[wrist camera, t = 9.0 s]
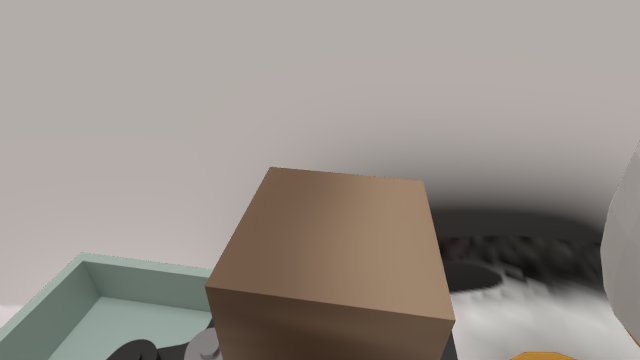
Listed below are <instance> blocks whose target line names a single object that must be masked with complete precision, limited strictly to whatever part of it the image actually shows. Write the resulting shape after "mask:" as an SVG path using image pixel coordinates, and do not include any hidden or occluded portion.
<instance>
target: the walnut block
mask: <svg viewBox="0 0 640 360" xmlns="http://www.w3.org/2000/svg"><path fill="white" fill-rule="evenodd" d="M205 290H206V294H207V298H208V302H209V306H210V310H211V314H212V318H213V322H214V326H215V330H216V334H217V338H218V342H219V346H220V350H221V354H222V358H223V360H440V359H441V356H442V354H443V351H444V348H445V346H446V343H447V341H448V338H449V336H450V333H451V331H452V328H453V326H454V323H455V321H456V320H455V316H454V311H453V307H452V303H451V299H450V294H449V290H448V286H447V281H446V277H445V273H444V268H443V264H442V260H441V256H440V251H439V247H438V243H437V238H436V234H435V230H434V225H433V221H432V217H431V213H430V208H429V204H428V200H427V195H426V191H425V187H424V182H423V181H418V180H407V179H396V178H385V177H375V176H363V175H353V174H342V173H331V172H320V171H309V170H298V169H287V168H277V167H270V168H269V170H268V172H267V174H266V175H265V177H264V179H263V181H262V183H261V185H260V186H259V188H258V190H257V192H256V194H255V196H254V198H253V199H252V201H251V203H250V205H249V206H248V208H247V210H246V212H245V214H244V215H243V217H242V219H241V221H240V223H239V224H238V226H237V228H236V230H235V232H234V234H233V235H232V237H231V239H230V241H229V243H228V244H227V247H226V248H225V250H224V252H223V253H222V255H221V257H220V259H219V261H218V263H217V264H216V266H215V268H214V270H213V272H212V273H211V275H210V277H209V279H208V281H207V283H206V284H205Z"/></svg>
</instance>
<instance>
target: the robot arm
mask: <svg viewBox="0 0 640 360" xmlns="http://www.w3.org/2000/svg"><path fill="white" fill-rule="evenodd" d="M106 360H223V358H222V354H221V350H220V346H219V342H218V338H217V334H216V330H215V326H214V322H213V318H212V319H211V321H210V323H209V325H208V326H207V328H206V329H205V330H203V331H201V332H200V333H198V334H197V335H196V336H195V337H193V339H192V340H191V341H190V342H187V343H185V344H181V345H175V346H170V347H164V348H158V349H157V348H156V346H155V345H154V343H153V342H151V341H149V340H146V339H138V340H133V341H130V342H128V343H126V344H124V345H122V346H121V347H119V348H118V349H117V350H116V351H115V352H113V353H112V354H111V355H110V356H109V357H108V358H107V359H106ZM440 360H458V358H457V353H456V349H455V344H454V339H453V335H452V331H451V333H450V336H449V338H448V341H447V343H446V346H445V348H444V351H443V354H442V356H441V359H440Z"/></svg>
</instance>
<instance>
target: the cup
mask: <svg viewBox="0 0 640 360" xmlns="http://www.w3.org/2000/svg"><path fill="white" fill-rule="evenodd" d="M600 251H601V261H602V271H603V281H604V289H605V291H606V294H607V296H608V299H609V302H610V304H611V307H612V310H613V312H614V315H615V316H616V317H617V318H618V320H619V321H620V322H621V323H622V325H623V326H624V327H625V329H626V330H627V332H628V333H629V334H630V336H631V337H632V338H633V340H634V341H635V342H636V344H637V345H638V346H639V347H640V142H639V144H638V146H637V148H636V150H635V152H634V154H633V156H632V158H631V160H630V162H629V164H628V167H627V169H626V171H625V173H624V175H623V177H622V179H621V181H620V183H619V185H618V188H617V190H616V192H615V194H614V196H613V198H612V201H611V203H610V206H609V211H608V216H607V220H606V225H605V229H604V235H603V240H602V244H601V249H600ZM510 360H576V359H573V358H571V357H568V356H565V355H562V354H559V353H553V352H525V353H522V354H520V355H518V356H516V357H514V358H512V359H510Z"/></svg>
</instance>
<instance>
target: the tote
mask: <svg viewBox="0 0 640 360" xmlns="http://www.w3.org/2000/svg"><path fill="white" fill-rule="evenodd" d="M212 272H213V269H205V268H198V267H190V266H182V265H175V264H167V263H159V262H151V261H144V260H137V259H129V258H121V257H114V256H106V255H98V254H91V253H83V252H81V253H80V254H79V255H78V256H77V257H76V258H75V259H74V260H73V261H71V263H69V264H68V265H67V266H66V267H65V268H64V269H63V270H62V271H61V272H60V273H59V274H58V275H57V276H56V277H55V278H54V279H52V280H51V281H50V282H49V283H48V284H47V285H46V286H45V287H44V288H43V289H42V290H41V291H40V292H39V293H38V294H37V295H36V296H34V298H32V299H31V300H30V301H29V302H28V303H27V304H26V305H25V306H24V307H23V308H22V309H21V310H20V311H19V312H18V313H17V314H15V315H14V316H13V317H12V318H11V319H10V320H9V321H8V322H7V323H6V324H5V325H4V326H3V327H2V328H1V329H0V360H106V359H107V358H108V357H109V356H110V355H111V354H112V353H113V352H115V351H116V350H117V349H118V348H119V347H121V346H122V345H124V344H126V343H128V342H130V341H133V340H138V339H146V340H149V341H151V342H153V343H154V345H155V346H156V348H157V349H158V348H164V347H170V346H175V345H181V344H185V343H187V342H190V341H191V340H192V339H193V337H195V336H196V335H197V334H198V333H200V332H201V331H203V330H205V329H206V328H207V326H208V325H209V323H210V321H211V319H212V314H211V310H210V306H209V302H208V298H207V294H206V290H205V284H206V283H207V281H208V279H209V277H210V275H211V273H212Z"/></svg>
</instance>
